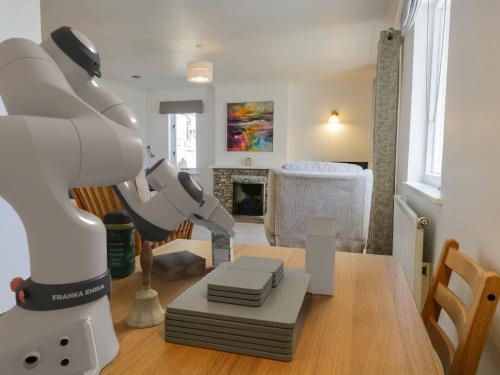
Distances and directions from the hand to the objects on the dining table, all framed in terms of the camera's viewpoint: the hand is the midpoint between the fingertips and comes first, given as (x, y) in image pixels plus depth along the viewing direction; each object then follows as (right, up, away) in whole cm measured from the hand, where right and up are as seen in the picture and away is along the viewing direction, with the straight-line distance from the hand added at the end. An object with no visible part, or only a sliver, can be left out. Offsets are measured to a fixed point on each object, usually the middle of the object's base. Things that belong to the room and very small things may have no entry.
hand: (224, 233), depth 104 cm
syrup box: (0, -9, 0) cm, 9 cm away
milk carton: (+25, -12, -16) cm, 32 cm away
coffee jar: (-29, -11, -5) cm, 32 cm away
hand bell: (-14, -14, -33) cm, 38 cm away
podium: (-14, -11, -2) cm, 17 cm away
